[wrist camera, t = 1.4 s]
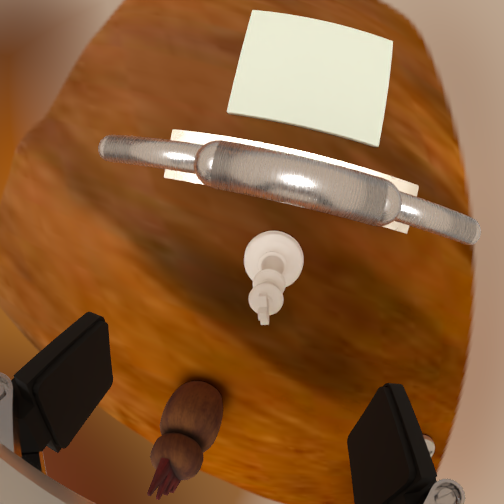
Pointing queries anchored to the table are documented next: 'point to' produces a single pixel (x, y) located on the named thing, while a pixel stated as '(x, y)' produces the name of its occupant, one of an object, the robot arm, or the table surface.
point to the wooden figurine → (185, 435)
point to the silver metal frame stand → (291, 180)
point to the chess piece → (271, 270)
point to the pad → (313, 76)
